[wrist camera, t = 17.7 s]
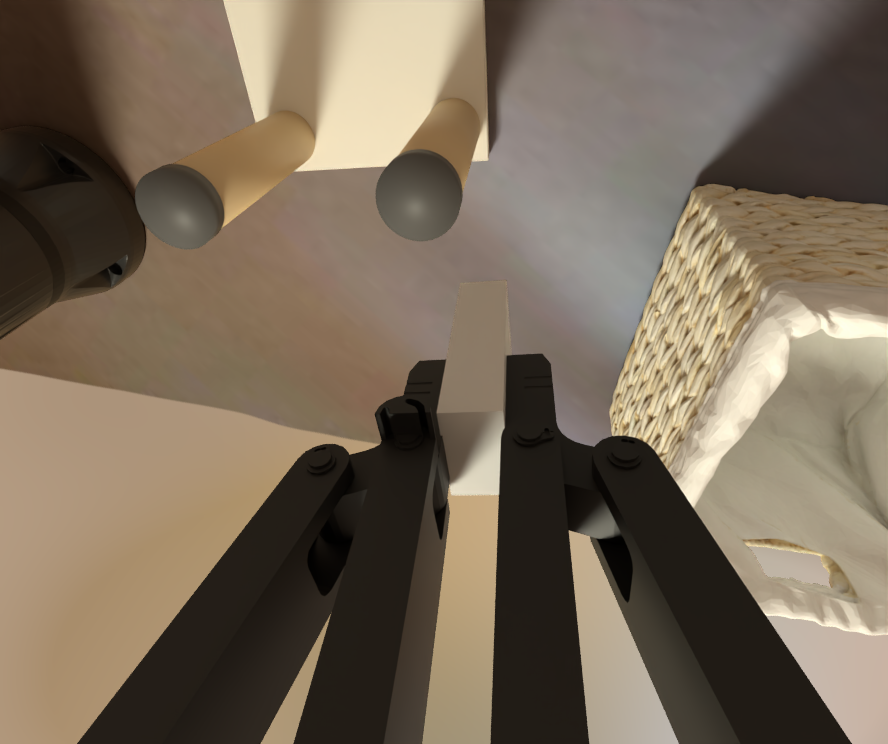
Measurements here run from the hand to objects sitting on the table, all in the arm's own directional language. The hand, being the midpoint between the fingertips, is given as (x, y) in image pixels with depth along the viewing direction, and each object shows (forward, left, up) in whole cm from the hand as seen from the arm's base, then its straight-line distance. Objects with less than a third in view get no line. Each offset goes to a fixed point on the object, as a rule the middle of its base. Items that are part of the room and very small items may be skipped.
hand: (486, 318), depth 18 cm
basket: (+24, -19, -30) cm, 43 cm away
